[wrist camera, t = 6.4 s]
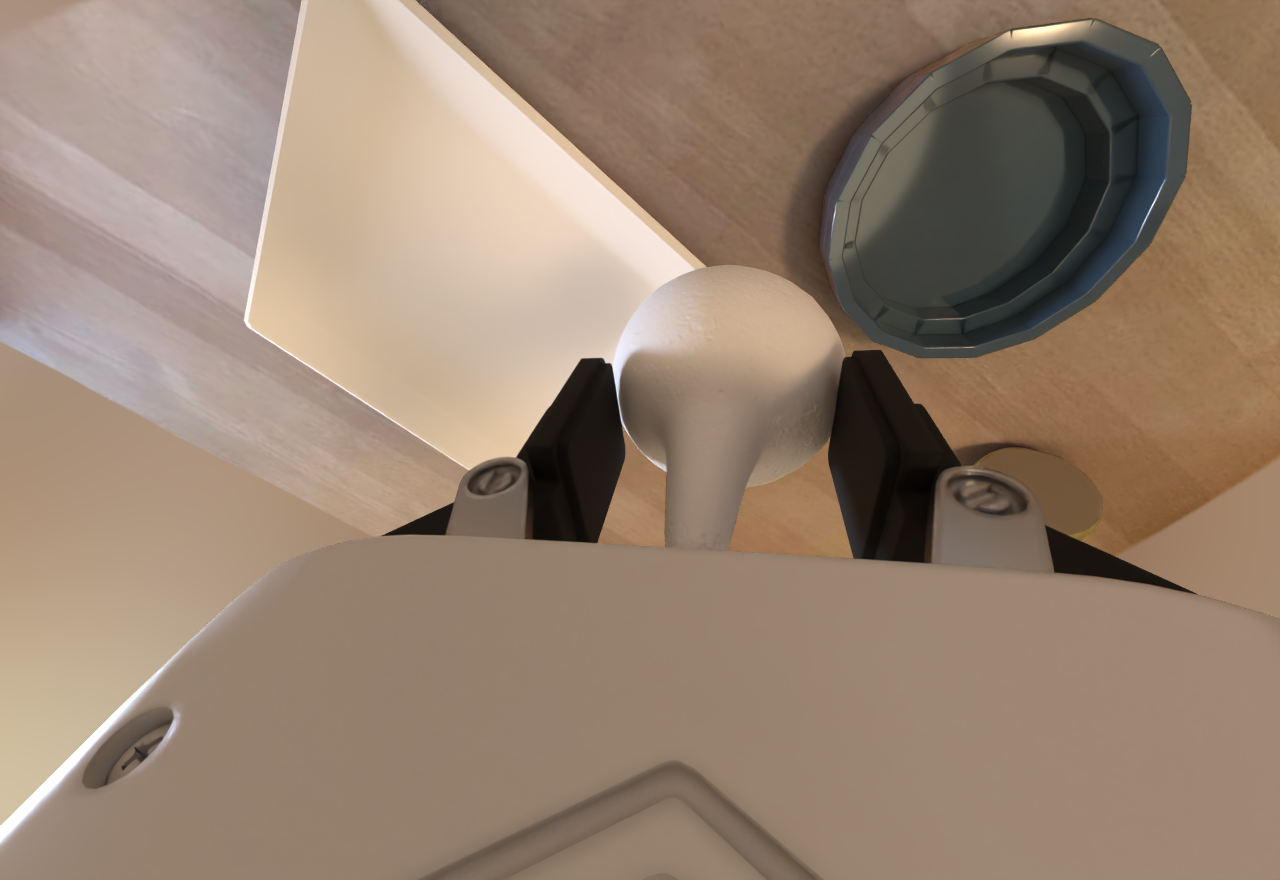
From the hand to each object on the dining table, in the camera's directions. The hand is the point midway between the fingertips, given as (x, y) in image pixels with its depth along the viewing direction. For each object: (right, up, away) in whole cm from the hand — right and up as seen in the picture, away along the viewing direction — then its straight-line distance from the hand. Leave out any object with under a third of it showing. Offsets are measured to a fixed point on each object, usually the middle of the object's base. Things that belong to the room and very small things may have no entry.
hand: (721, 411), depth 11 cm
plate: (-14, +9, +21) cm, 27 cm away
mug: (+25, -5, +23) cm, 34 cm away
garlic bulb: (+1, +2, +3) cm, 3 cm away
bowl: (+15, +12, +13) cm, 23 cm away
